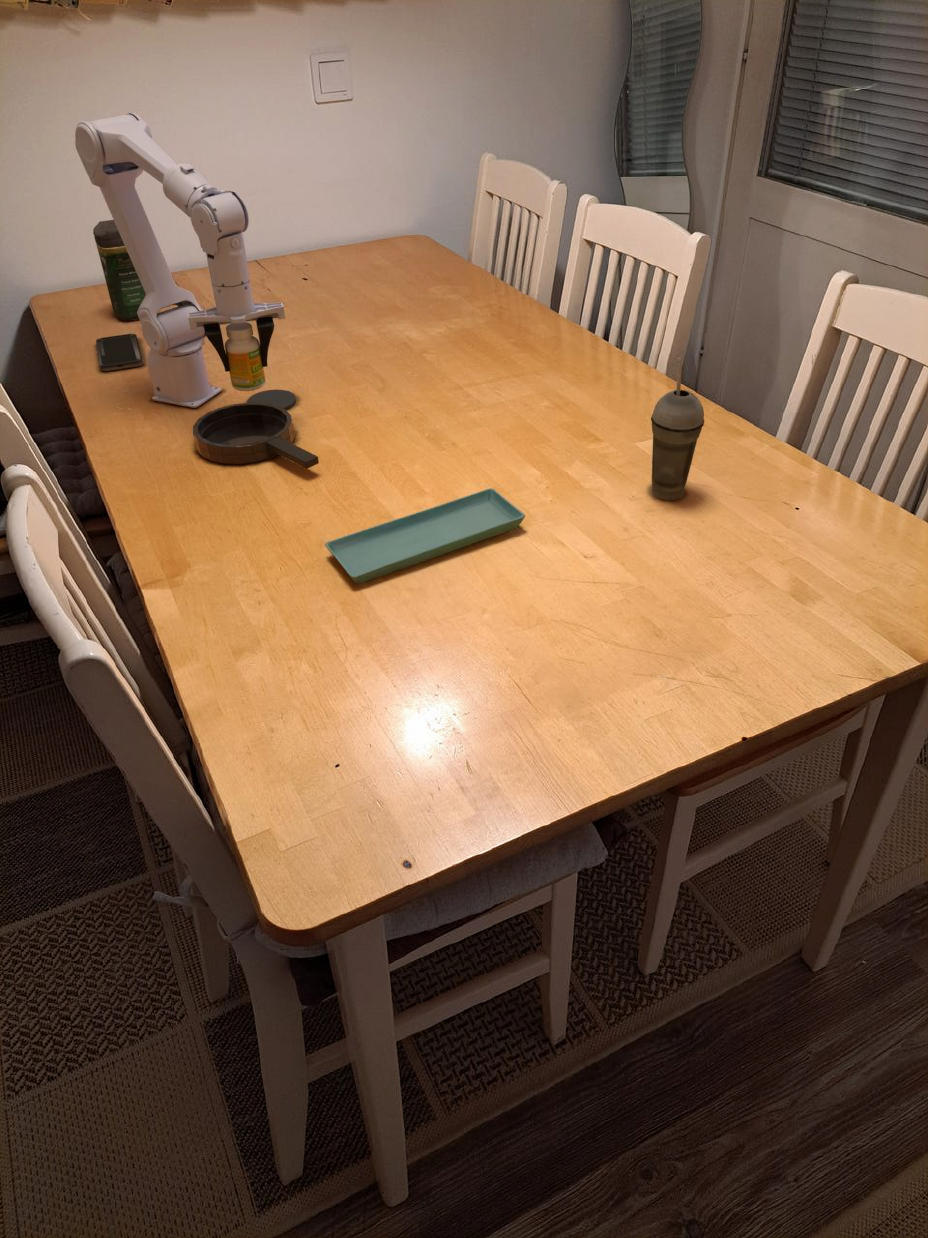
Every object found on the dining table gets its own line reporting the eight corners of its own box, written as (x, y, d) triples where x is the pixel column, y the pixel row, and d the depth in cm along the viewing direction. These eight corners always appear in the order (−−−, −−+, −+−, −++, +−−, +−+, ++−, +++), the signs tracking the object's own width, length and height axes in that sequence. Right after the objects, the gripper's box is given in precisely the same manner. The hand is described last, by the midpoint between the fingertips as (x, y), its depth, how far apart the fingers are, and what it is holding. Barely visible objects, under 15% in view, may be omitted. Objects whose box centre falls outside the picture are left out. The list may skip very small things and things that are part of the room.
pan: (176, 454, 144) (172, 436, 142) (233, 414, 155) (230, 396, 153) (260, 472, 139) (256, 453, 137) (312, 429, 150) (309, 411, 148)
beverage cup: (662, 510, 128) (681, 376, 116) (632, 487, 133) (646, 356, 121) (703, 497, 131) (725, 364, 118) (671, 475, 136) (690, 346, 123)
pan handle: (266, 448, 141) (264, 441, 140) (278, 442, 142) (277, 435, 142) (306, 469, 136) (305, 462, 135) (319, 463, 137) (318, 456, 136)
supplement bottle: (258, 393, 144) (248, 333, 138) (226, 390, 145) (215, 331, 139) (270, 379, 149) (261, 320, 143) (240, 376, 150) (229, 318, 143)
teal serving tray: (353, 590, 115) (351, 575, 113) (325, 555, 121) (322, 540, 119) (526, 531, 125) (527, 515, 123) (492, 501, 131) (492, 486, 129)
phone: (135, 332, 182) (142, 359, 171) (137, 338, 183) (143, 365, 172) (95, 338, 180) (99, 366, 169) (96, 344, 181) (100, 372, 170)
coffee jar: (158, 317, 192) (136, 225, 181) (120, 324, 189) (96, 231, 178) (147, 303, 199) (126, 213, 187) (110, 310, 196) (86, 219, 185)
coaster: (238, 408, 157) (237, 405, 156) (264, 389, 163) (264, 386, 162) (279, 416, 154) (279, 413, 154) (305, 396, 160) (304, 393, 160)
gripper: (182, 294, 132) (201, 382, 141) (282, 283, 135) (294, 370, 144) (180, 279, 137) (198, 365, 146) (276, 269, 140) (288, 353, 149)
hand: (245, 366), depth 145 cm, fingers closed on supplement bottle, 5 cm apart
